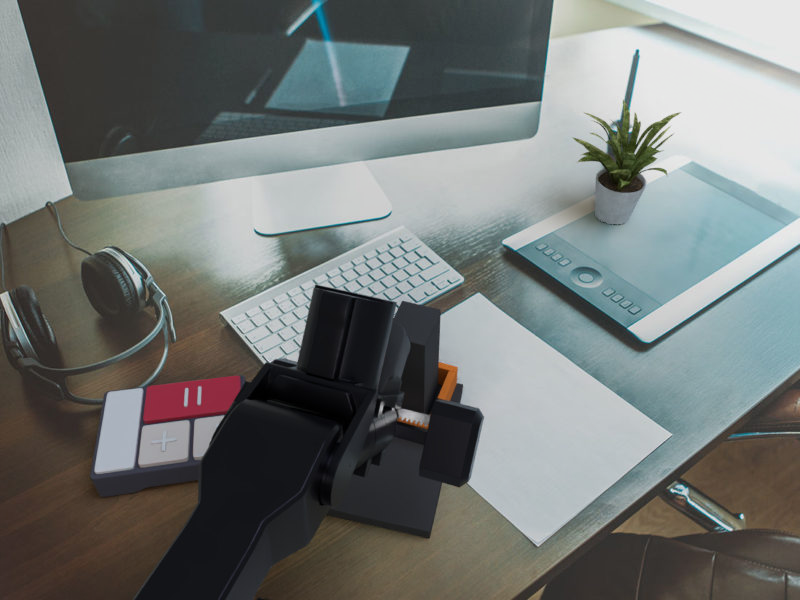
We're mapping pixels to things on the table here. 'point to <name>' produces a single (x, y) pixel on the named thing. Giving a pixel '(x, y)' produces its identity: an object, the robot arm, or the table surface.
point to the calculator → (158, 433)
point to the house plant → (623, 167)
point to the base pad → (399, 480)
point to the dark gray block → (420, 355)
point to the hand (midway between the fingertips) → (391, 407)
